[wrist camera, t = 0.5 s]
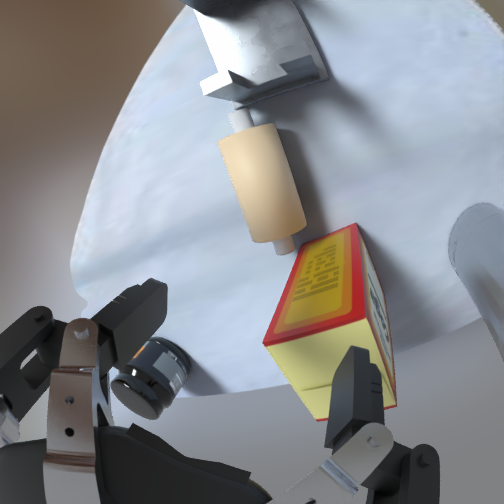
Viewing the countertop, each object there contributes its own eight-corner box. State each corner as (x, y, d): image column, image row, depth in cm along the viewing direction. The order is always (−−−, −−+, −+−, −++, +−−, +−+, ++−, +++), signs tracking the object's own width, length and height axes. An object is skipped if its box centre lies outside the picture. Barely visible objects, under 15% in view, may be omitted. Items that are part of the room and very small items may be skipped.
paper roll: (224, 122, 27) (198, 122, 22) (273, 104, 25) (255, 98, 20) (268, 245, 31) (252, 267, 27) (316, 235, 29) (308, 258, 24)
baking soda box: (301, 245, 30) (260, 346, 16) (356, 222, 27) (365, 318, 13) (334, 311, 32) (316, 425, 18) (384, 294, 29) (397, 410, 15)
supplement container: (136, 344, 48) (100, 385, 38) (160, 326, 43) (118, 373, 33) (175, 380, 50) (145, 424, 39) (204, 368, 44) (172, 420, 34)
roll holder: (278, -22, 18) (255, -62, 10) (329, 79, 22) (324, 56, 14) (197, 12, 22) (155, -13, 14) (236, 109, 26) (197, 104, 18)
